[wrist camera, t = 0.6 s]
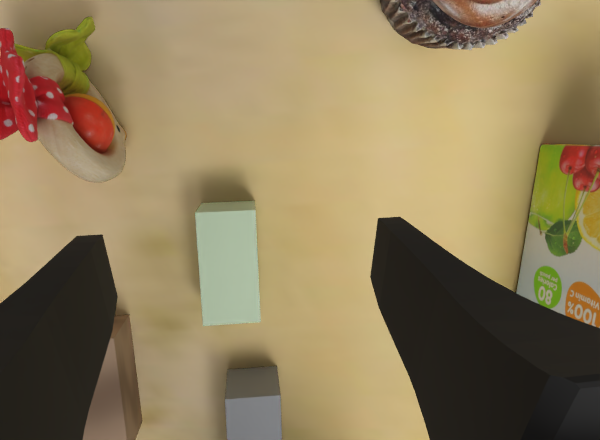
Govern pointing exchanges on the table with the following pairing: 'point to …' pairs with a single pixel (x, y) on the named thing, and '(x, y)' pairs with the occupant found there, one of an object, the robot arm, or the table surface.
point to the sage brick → (228, 262)
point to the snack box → (564, 233)
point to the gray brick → (253, 404)
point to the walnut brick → (116, 390)
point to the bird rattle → (60, 103)
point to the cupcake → (457, 21)
